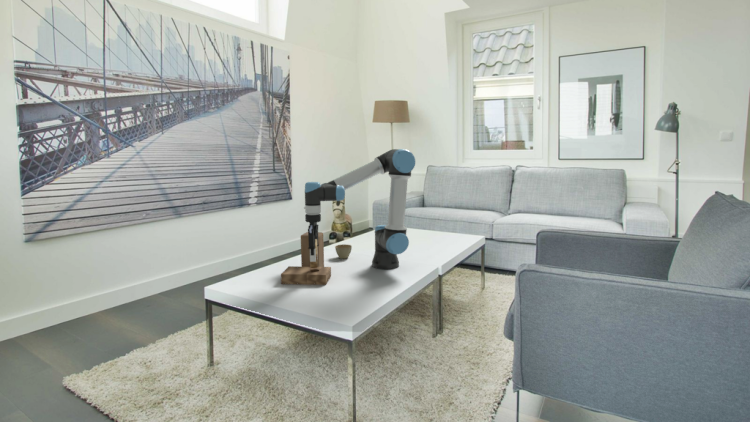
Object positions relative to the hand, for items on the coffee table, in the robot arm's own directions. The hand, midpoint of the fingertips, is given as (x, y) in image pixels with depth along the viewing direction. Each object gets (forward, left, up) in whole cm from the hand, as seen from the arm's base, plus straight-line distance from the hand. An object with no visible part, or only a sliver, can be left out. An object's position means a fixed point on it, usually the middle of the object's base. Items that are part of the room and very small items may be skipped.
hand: (313, 260), depth 214 cm
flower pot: (-8, -45, -11) cm, 47 cm away
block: (+5, -19, -11) cm, 22 cm away
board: (+4, 0, -10) cm, 11 cm away
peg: (0, 0, -4) cm, 4 cm away
